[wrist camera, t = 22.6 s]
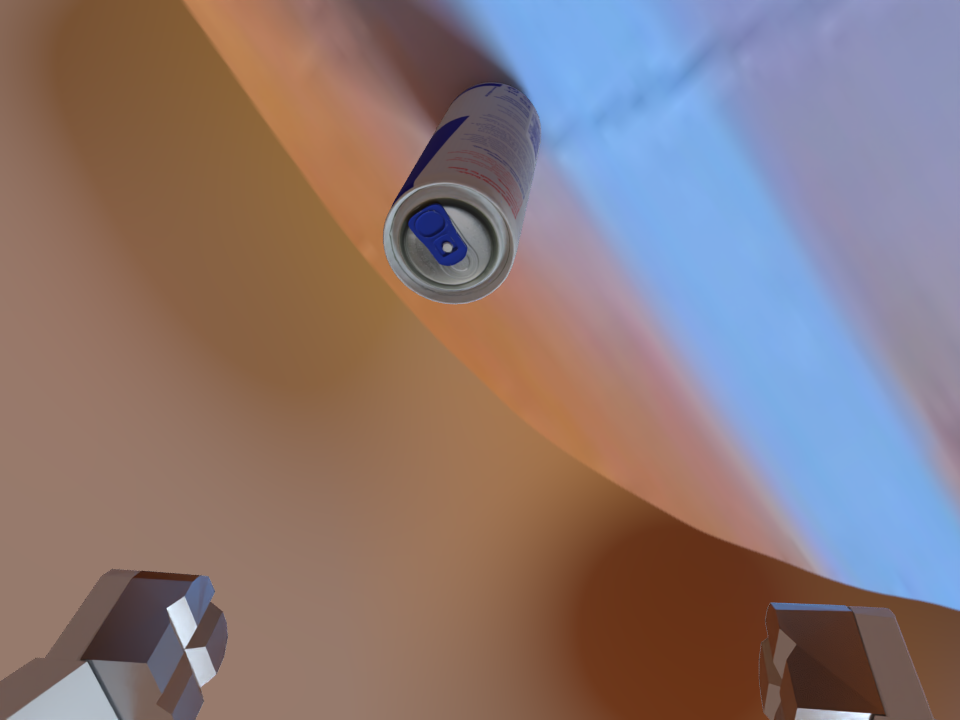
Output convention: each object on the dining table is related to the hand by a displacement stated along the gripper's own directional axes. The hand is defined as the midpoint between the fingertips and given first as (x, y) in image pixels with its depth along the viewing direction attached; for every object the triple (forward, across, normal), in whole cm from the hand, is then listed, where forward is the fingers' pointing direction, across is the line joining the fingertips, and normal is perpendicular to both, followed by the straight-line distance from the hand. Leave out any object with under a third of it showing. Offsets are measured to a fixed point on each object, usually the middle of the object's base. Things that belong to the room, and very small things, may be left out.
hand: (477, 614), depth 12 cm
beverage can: (+34, +4, +3) cm, 35 cm away
